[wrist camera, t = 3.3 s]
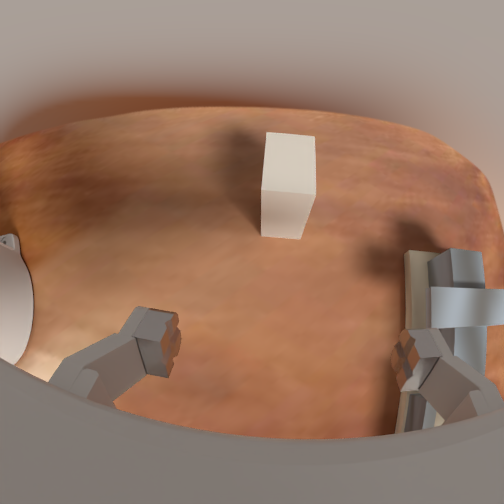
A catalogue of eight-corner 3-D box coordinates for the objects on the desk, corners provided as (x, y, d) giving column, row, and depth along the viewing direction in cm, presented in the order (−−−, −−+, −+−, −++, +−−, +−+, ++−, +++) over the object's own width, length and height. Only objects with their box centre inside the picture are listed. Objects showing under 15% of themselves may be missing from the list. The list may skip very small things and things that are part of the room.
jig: (377, 471, 18) (404, 496, 13) (394, 253, 25) (425, 228, 19) (457, 452, 18) (491, 465, 12) (469, 260, 24) (504, 241, 18)
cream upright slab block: (260, 236, 26) (261, 190, 18) (265, 187, 27) (266, 132, 20) (300, 239, 25) (316, 194, 18) (301, 190, 27) (314, 136, 19)
